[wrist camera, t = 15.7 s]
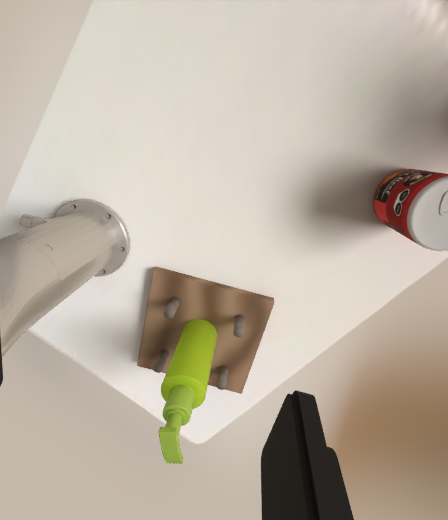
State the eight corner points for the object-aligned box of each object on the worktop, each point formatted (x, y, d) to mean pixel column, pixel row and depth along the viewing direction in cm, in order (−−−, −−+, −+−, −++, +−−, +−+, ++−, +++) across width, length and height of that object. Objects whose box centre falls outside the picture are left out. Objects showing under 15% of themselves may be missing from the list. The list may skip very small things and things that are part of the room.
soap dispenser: (186, 352, 52) (148, 466, 34) (181, 319, 50) (137, 422, 31) (219, 352, 51) (199, 468, 33) (215, 318, 49) (191, 423, 30)
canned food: (421, 157, 39) (481, 162, 28) (437, 211, 41) (498, 233, 31) (363, 185, 41) (399, 198, 30) (381, 235, 43) (421, 262, 33)
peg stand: (140, 360, 56) (128, 381, 51) (156, 266, 48) (144, 280, 43) (241, 387, 56) (240, 411, 51) (273, 298, 48) (275, 316, 43)
